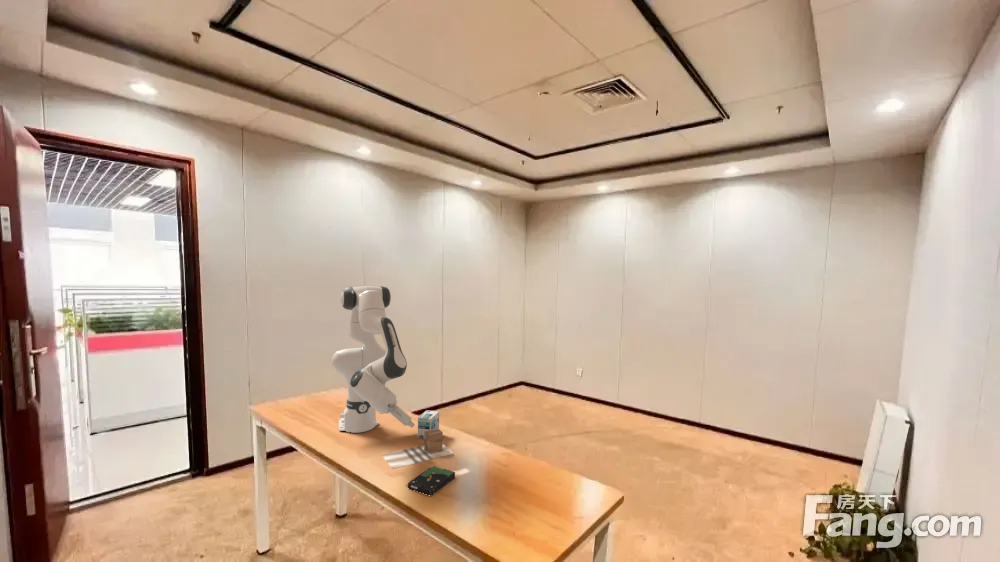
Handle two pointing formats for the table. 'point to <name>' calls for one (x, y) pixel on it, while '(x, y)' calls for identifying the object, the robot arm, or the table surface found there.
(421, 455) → the board
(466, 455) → the table surface
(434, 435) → the block
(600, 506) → the table surface
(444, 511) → the table surface
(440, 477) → the disk drive
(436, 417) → the light bulb box
